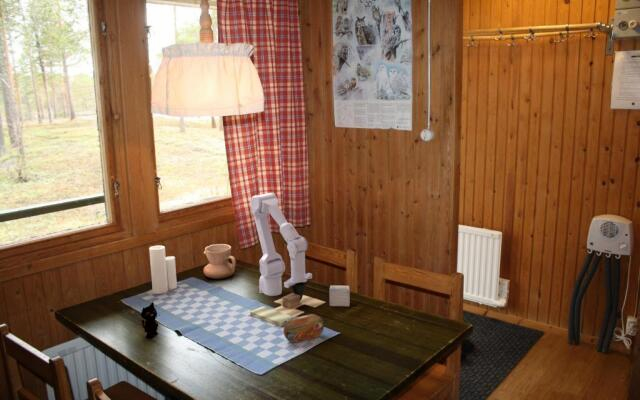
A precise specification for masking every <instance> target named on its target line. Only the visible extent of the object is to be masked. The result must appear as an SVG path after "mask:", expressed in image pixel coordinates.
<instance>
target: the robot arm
mask: <svg viewBox="0 0 640 400" xmlns="http://www.w3.org/2000/svg"><path fill="white" fill-rule="evenodd" d="M249 204H250V208H251V211H252V212H251V213H252V215H253V220H254V222H255V226H256V231H257V234H258V240H259V242H260V247H261V251H262V257H261V258H260V259H259V261H258V262H259V273H260V274H261V275H260V277H259V282H258V287H259V294H264V295H266V296H270V297H273V296H274V297H275V296H279V295H282V291H283V287H284V288H287V289H289V288H290V287H291V290H292V291H293V293H294V294H298V295H300V300H302V296H303V295H304V291H305V289H306V287H307V286H308V280H310V279H313V274H312V273H311V272H307V273H306V251H307V250H308V248H309V246H308V245H309V244H308V243H309V242H308V241H307V239H306V237H304V236H302V235H301V234H300V235H299V233H298V232H297V230H296V228H295V226H294V225H293V224H292V223H291V222H289V221H287V220H286V217H285V215H284V214H283V212H282V210H281V208H280V206H279V199H278V197H277V196H276V194H275V193H274V192H268V193H264V194H256V195H253V196H252V197H251V199H250V201H249ZM269 214H270V215H271V217H272V219H274V221H275V222H276V224H277V225H278V226H279V233H280V235H282V238H283V239H284V241H285V242H286V243H287V245H286V247H287V248H286V249H287V251H288V253H289V258H290V272H291V273H290V276H291V277H290V278H289V279H287V280H286V281H284V282H283V283H282V276H283V275H284V274H283V273H284V272H285V270H286V263H285V262H284V260H283V257H282V255H281V254H279V253H278V252H277V251H276V248H275V244H274V240H273V239H274V238H273V235H272V231H271V228H270V225H269V219H268V215H269ZM282 284H283V286H282Z"/></svg>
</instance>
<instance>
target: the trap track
mask: <svg viewBox="0 0 640 400" xmlns="http://www.w3.org/2000/svg"><path fill="white" fill-rule="evenodd" d="M273 303H276V304H280V305H279V306H278V307H275V308H269V307H267V306H264V305H263V306H261V307H260V306H259V307H258V308H255V309H252V310H250V311H249V315H250V316H252V317H254V318H256V319H260V320H262V321H264V322H266V323H270V324H273V325H275V326H278V327H281V328H282V327H284V326H285V324H286V323H287V322H288V321H289V320H290V319H293V318H296V317H297V316H299V315H301V314H304V313H305V311H303V310H300V309H297V308H299V307H302V306H304V305H306V306H309V307H312V308H316V307H319V306H322V305H323V304H325V303H326V301H323V300H320V299H318V298H314V297H311V296H309V295H308V296H307V295H304V294H303V296H302V300H300V305H298V306H296V307H294V308H292V309H288V308H285V307H283V300H282V298H279V299H277V300H274V301H273Z"/></svg>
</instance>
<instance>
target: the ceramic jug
mask: <svg viewBox="0 0 640 400" xmlns="http://www.w3.org/2000/svg"><path fill="white" fill-rule="evenodd" d="M231 253H232V246H231V245H229V244H227V243H226V244H225V243H219V244H218V243H216V244H210V245H209V246H206V247H205V248H204V252H203V254H204V255H206V258H207V260H208V262H209V263H208V264H207V265H205V266H204V267H203V274H204V275H205V276H206V277H208V278H209V279H215V280H217V279H219V280H221V279H225V278H229V277H231V276H232V275H233V274H234V273H235V267H236V258H235V257H234V256H233V255H231ZM229 260H231V262H232V263H230V262H229Z"/></svg>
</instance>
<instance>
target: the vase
mask: <svg viewBox="0 0 640 400" xmlns="http://www.w3.org/2000/svg"><path fill="white" fill-rule="evenodd" d="M148 251H149V260H150V261H149V263H150V275H151V285H152V288H151V289H152V293H153V294H157V295H161V294H165V293H167V292H168V291H169V290H170V291H171V290H174V289H176V288H178V283H177V282H178V281H177V272H176V271H177V270H176V268H177V267H176V257H175V256H174V255H173V256H172V255H171V256H166V247H165V246H164V245H154V246H153V245H151V246H150V247H149V248H148Z"/></svg>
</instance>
